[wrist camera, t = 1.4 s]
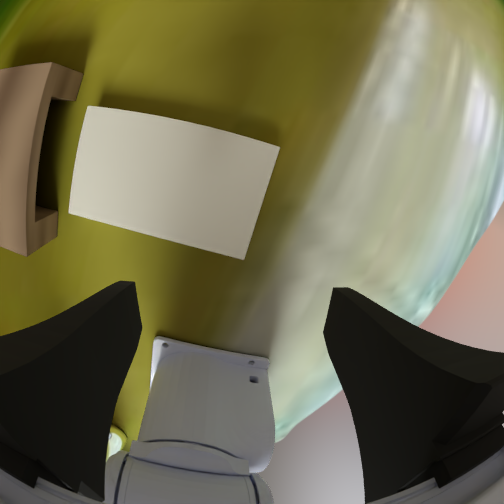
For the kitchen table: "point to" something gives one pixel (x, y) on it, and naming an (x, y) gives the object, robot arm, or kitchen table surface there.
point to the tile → (171, 179)
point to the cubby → (27, 150)
